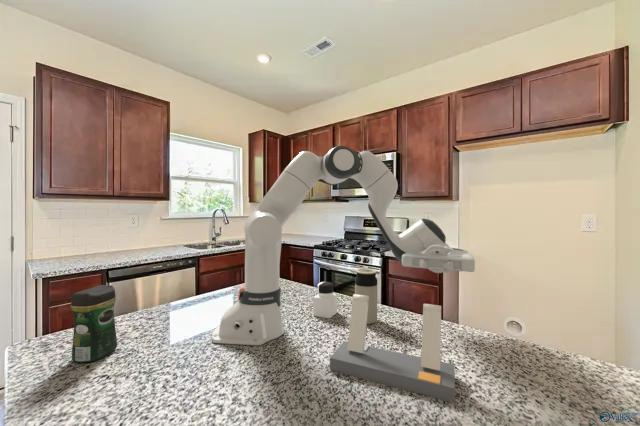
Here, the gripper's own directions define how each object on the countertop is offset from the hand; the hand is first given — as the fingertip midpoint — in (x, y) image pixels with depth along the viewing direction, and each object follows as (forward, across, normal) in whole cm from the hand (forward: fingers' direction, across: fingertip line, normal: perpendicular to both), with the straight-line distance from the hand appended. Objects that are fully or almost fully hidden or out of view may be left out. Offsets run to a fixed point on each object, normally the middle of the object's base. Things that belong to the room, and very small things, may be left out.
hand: (435, 266), depth 79 cm
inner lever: (+16, -18, +20) cm, 32 cm away
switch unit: (+16, -9, +24) cm, 30 cm away
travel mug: (-13, -24, +24) cm, 36 cm away
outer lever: (+16, 0, +20) cm, 26 cm away
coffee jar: (+42, -84, +24) cm, 97 cm away
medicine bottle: (-12, -39, +24) cm, 48 cm away
